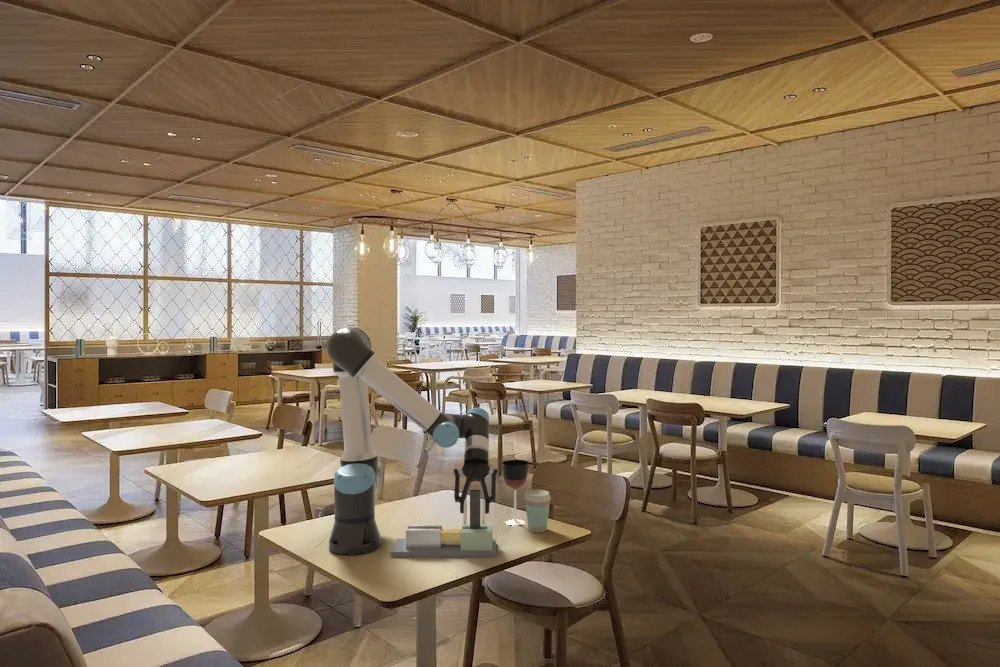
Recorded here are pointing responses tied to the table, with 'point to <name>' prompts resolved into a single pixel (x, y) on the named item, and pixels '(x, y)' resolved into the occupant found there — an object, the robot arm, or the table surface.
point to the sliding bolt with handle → (455, 534)
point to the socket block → (477, 537)
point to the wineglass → (515, 481)
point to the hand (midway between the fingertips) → (474, 522)
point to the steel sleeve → (423, 536)
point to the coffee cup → (537, 509)
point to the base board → (437, 551)
